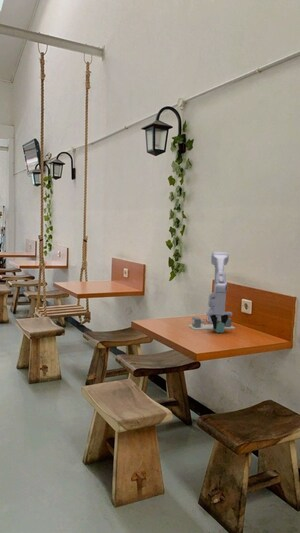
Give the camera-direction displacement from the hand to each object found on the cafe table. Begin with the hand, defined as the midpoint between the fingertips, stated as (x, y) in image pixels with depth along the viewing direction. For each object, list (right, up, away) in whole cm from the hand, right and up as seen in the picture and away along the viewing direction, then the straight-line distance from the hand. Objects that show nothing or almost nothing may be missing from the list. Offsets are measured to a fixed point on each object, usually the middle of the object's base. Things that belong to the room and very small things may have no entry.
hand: (218, 328), depth 231 cm
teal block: (0, -1, 0) cm, 1 cm away
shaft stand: (-2, -1, +9) cm, 10 cm away
